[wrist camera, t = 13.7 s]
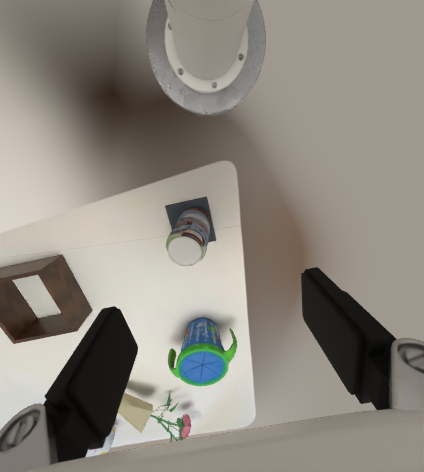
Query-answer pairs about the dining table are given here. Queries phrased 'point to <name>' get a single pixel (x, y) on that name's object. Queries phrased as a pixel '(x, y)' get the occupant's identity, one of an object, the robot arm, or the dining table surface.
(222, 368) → the snack cup
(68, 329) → the open wooden box
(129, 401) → the flower vase
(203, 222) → the beverage can
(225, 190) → the dining table surface
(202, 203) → the mat
